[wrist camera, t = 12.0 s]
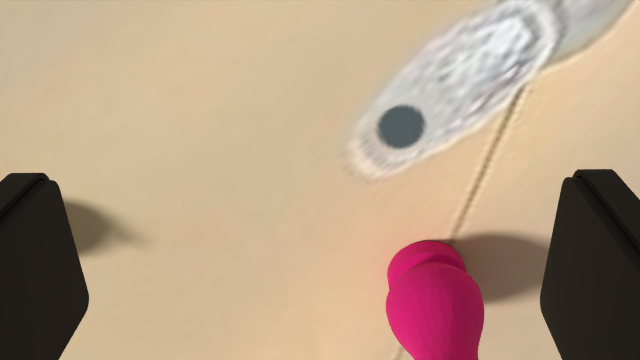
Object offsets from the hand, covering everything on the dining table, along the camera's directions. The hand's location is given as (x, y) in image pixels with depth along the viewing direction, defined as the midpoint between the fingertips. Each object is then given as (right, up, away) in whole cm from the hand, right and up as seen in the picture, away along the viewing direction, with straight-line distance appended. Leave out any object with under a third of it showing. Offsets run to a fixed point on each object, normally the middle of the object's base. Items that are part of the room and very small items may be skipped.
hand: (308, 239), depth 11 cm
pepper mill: (+9, -6, +37) cm, 38 cm away
